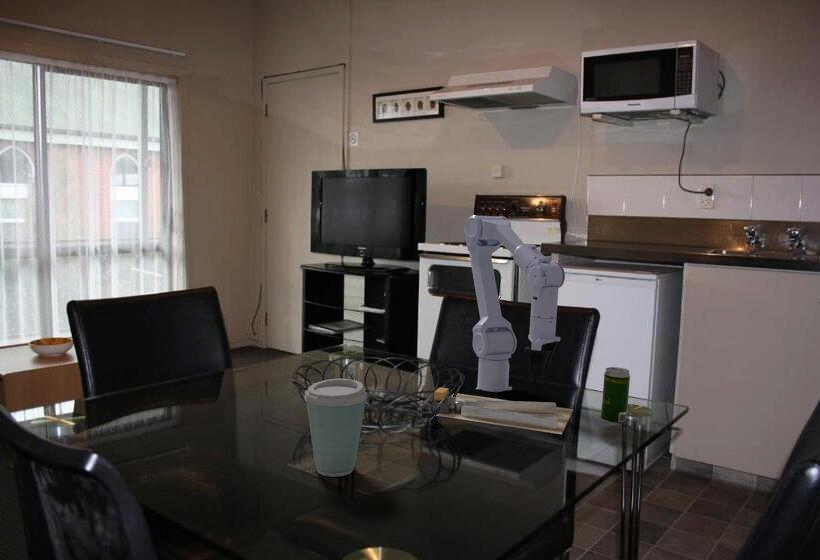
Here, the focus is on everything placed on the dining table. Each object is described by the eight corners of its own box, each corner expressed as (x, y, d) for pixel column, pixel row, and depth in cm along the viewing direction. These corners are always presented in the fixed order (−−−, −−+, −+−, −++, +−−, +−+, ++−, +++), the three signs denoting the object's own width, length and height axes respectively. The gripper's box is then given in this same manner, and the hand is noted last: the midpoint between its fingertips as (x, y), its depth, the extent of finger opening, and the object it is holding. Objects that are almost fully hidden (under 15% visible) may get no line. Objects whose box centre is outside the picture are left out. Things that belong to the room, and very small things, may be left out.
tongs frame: (440, 405, 159) (440, 395, 159) (560, 423, 150) (561, 411, 150) (432, 412, 154) (432, 401, 154) (556, 430, 145) (557, 419, 145)
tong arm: (453, 408, 157) (453, 398, 157) (553, 411, 158) (554, 402, 158) (454, 412, 154) (455, 403, 153) (557, 415, 155) (558, 406, 154)
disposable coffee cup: (339, 487, 115) (342, 397, 113) (288, 471, 120) (290, 385, 119) (376, 468, 124) (380, 383, 122) (327, 454, 129) (330, 373, 128)
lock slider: (439, 395, 158) (439, 387, 158) (448, 396, 157) (448, 388, 157) (434, 399, 154) (434, 391, 154) (442, 400, 154) (443, 392, 153)
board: (453, 398, 170) (454, 393, 170) (572, 414, 161) (573, 409, 161) (429, 419, 152) (429, 414, 152) (561, 439, 143) (561, 434, 143)
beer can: (631, 424, 155) (635, 371, 154) (616, 429, 152) (620, 374, 150) (610, 418, 159) (614, 365, 158) (595, 422, 156) (599, 368, 155)
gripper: (556, 323, 151) (552, 385, 152) (566, 313, 164) (561, 371, 166) (523, 319, 153) (519, 381, 155) (535, 311, 167) (531, 367, 168)
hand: (539, 376), depth 161 cm, fingers open, 7 cm apart
